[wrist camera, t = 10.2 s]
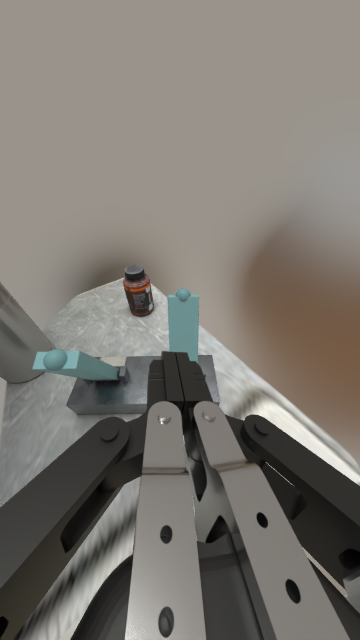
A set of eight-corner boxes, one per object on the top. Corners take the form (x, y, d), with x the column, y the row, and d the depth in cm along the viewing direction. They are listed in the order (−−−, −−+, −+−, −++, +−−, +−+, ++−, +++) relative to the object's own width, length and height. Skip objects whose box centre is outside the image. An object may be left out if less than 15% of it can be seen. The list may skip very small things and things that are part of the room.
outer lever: (171, 382, 27) (167, 290, 23) (171, 374, 29) (167, 287, 24) (197, 381, 27) (199, 289, 23) (196, 373, 29) (197, 286, 24)
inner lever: (94, 381, 28) (22, 369, 16) (96, 368, 29) (29, 347, 16) (120, 381, 28) (69, 369, 16) (121, 368, 29) (74, 346, 16)
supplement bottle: (158, 310, 46) (153, 269, 38) (137, 320, 44) (127, 279, 36) (146, 298, 49) (139, 259, 41) (126, 307, 47) (114, 267, 39)
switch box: (77, 414, 29) (58, 399, 24) (93, 369, 35) (80, 350, 30) (216, 411, 29) (222, 396, 24) (209, 367, 35) (213, 347, 30)
